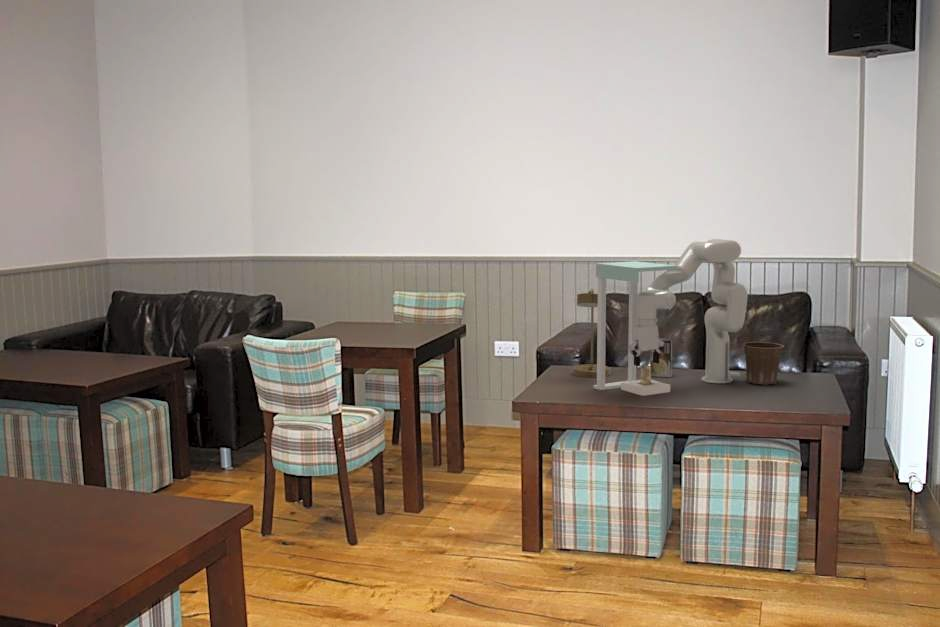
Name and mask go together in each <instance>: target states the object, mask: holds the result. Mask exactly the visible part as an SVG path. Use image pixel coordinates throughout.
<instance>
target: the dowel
mask: <svg viewBox="0 0 940 627" xmlns="http://www.w3.org/2000/svg"><path fill="white" fill-rule="evenodd" d="M640 380H641V385H651V380H652V376H651V366H650V365H640Z"/></svg>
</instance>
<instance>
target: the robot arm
mask: <svg viewBox="0 0 940 627" xmlns="http://www.w3.org/2000/svg"><path fill="white" fill-rule="evenodd" d="M741 254H742V248H741V244H740V243H738V241H736V240H731V239H729V240H728V239H719V238H718V239H717V238H714V239H709V240H707V241H694V242H691V243H690V244H688V246H687V247H686V248H685V250H684V251H683V253H682V254H681V255H680V257H679V258H678V259H677V261H676V262H675V263H674V265H676V266H677V270H664V272H662V273H661V274H659V275H658V276H657V277H655V278H654V280H652V282H651V283H650V284H649V286H648V287H647V289H646V290H645V291H640V292H637V326H636V327H635V331H634V339H633V343H632V344H631V345H629V349H630V352H631V353H632V355H633V356H634V365H635V366H636V367H641V356H640V355H641V354H642V352H650V351H651V350H653V351H654V353H653V362H654V363H659V354H660V353H661V350H662V349H663V345H664V342H663V341H661V340H659V338H660V334H659V326H658V325H657V322H658V318H657V310H668V309H672V308H673V307H674V306H675V305H676V302H677V298H676V295H675V293H673V292H672V291H671V290H668V289H669V288H671V287H673V286H676V285H679V284H682V283H686V282H687V281H690V279H691V278H692V277H693V275H694V274H695V272H696V271H697V270H698V269H699V267H700V266H701V265H702V264H703V263H704V264H712V266H713V280H712V284H711V294H710V295H711V296H710V297H711V299H712V301H713V302H714V303H717V304H720V305H727V307H724V306H713V307H710V308H708V309H707V310H706V311H705V314H704V326H705V334H706V336H705V337H706V342H705V343H706V345H705V375H704V376H702V377H701V381H702V382H704V383H709V384H710V383H711V384H731V383H732V382H733V377H735V378H739V377H741V372H736V371H731V370H729V369H730V346H731V345H730V344H731V342H730V336H729V333H737V332H740V330H741V329H742V328H743V326H744V324H745V320H746V312H747V306H748V296H749V295H748V291H747V288H746V287H745V285H744V284H741V283H740V282H739V283H738V282H735V275H736V269H735V264H734V261H736V260H738V259H739V257H740V256H741Z"/></svg>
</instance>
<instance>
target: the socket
mask: <svg viewBox="0 0 940 627" xmlns="http://www.w3.org/2000/svg"><path fill="white" fill-rule="evenodd" d="M626 381H627V382H622V381H620V382H621V388H620V390H621V391H624V392H627V393H632V394H635V395H638V396H642V397H645V396H651V395H653V396H654V395H659V394H665V393H671V384H669V383H665V382H661V381H657V380H654V379H651V385H641V379H636V380H635V381H628V380H626Z"/></svg>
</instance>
